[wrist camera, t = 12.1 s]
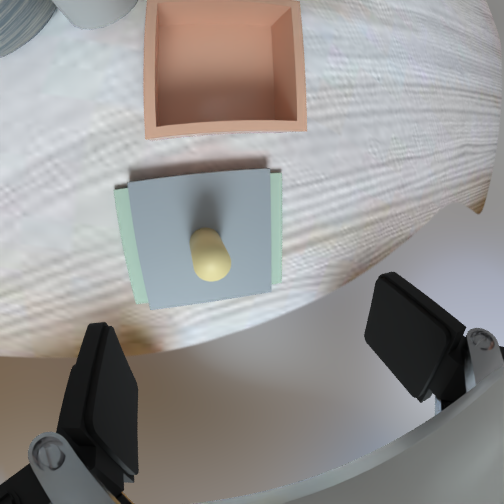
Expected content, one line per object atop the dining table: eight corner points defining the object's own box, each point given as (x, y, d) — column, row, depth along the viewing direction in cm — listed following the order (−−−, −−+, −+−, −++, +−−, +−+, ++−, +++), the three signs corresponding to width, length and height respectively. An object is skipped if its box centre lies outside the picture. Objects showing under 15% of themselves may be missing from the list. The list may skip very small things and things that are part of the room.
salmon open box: (275, 24, 21) (299, 1, 15) (279, 132, 25) (307, 131, 20) (151, 24, 18) (147, -4, 13) (152, 140, 23) (145, 139, 17)
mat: (280, 172, 27) (281, 172, 27) (280, 281, 32) (281, 282, 31) (114, 189, 23) (113, 190, 23) (136, 302, 28) (136, 304, 28)
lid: (267, 167, 26) (291, 174, 21) (269, 288, 31) (288, 317, 26) (128, 181, 23) (116, 192, 18) (150, 305, 28) (148, 340, 23)
